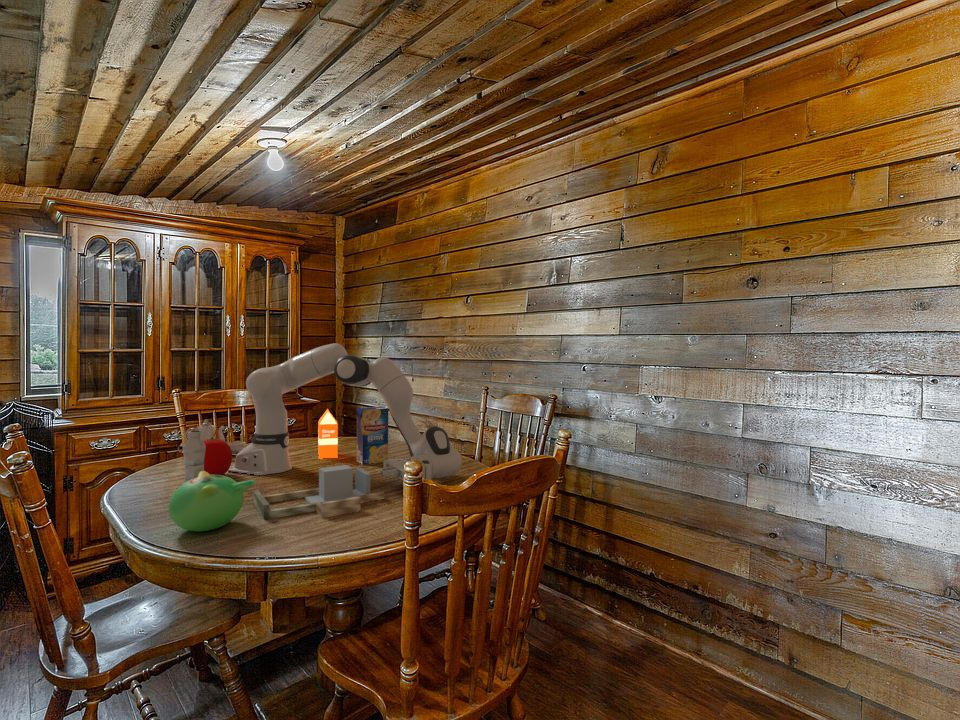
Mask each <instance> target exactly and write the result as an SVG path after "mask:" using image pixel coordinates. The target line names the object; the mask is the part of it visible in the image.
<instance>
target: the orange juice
mask: <svg viewBox="0 0 960 720" xmlns="http://www.w3.org/2000/svg"><path fill="white" fill-rule="evenodd" d="M317 423H318V424H317V425H318V429H317V432H318V433H317V434H318V437H317V440H318V441H317V443H318V444H317V445H318V449H317V451H318V455H319V456H318V460H319V459H320V460H324V459H323V458H339V457H338V456H339V455H338V454H339V453H338V449H339V448H338V445H339V441H338V440H339V438H338V436H339V435H338V434H339V433H338V429H339V425H338V420H337V419H335V417H334V416H333V414H332V413H331V412H330V410H329V408H326V410H325V412H324V413H323V414H322V416H321V417H320V418H319V420H318V422H317Z"/></svg>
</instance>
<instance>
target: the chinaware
mask: <svg viewBox="0 0 960 720" xmlns="http://www.w3.org/2000/svg"><path fill="white" fill-rule="evenodd" d="M215 426H216V425H213V424H212V423H211V422H209V420H207V419H204V421H203V423H201V425H198V426H197V427H192V428H189V429H188V430H186V431H185V433H184V439H185V442H180V445H179V446H178V447H177V451H178V452H179V453H183V451H180V447H182V448H183V446H184V444H185V443H186V442H187V440H188V438H187V436H188V431H194V430H200V431H201V437H200V439H201V440H202V441H203V440H204V441H205V440H208V439H211V437H213V439H215V436H214V435H215V434H214V433H215V431H214V430H215ZM224 428H225V425H221V426H220V427H219V428H218V439H221V440H224V441H225V442H227V444H228V445H229V446H230V448H231V451H232V454H238V453H239V452H240V451H242V450H243V449H244V448H245V447H246V446H245V445H246V444H247V441H240V440H236V441H233V442H231V441H226V438H225V435H224V433H223V429H224Z"/></svg>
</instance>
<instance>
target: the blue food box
mask: <svg viewBox="0 0 960 720" xmlns="http://www.w3.org/2000/svg"><path fill="white" fill-rule="evenodd" d="M387 459H389V408H388V407H386V406H381V405H380V406H379V405H378V406H366V407H363V406H362V407H356V463H358V462H359V463H358V464H360V463H361V464H360V465H362V466H365V465H364V464H366V465H372V464H371V463H374V464H380V463H379V462H382V463H384V460H387Z"/></svg>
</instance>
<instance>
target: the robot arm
mask: <svg viewBox="0 0 960 720" xmlns="http://www.w3.org/2000/svg"><path fill="white" fill-rule="evenodd" d="M331 374H334V376H335V378H336V379H337V380H338V381H339V382H340V383H342V384H345V385H348V386H351V387H366V386H368V385H370V384H372V385H373V386H374V387H375V388H376V390H377V391H378V392H379V394H380V396H381V397H382V398H383V401H384V402H385V403H386V405H387V408H389V409H388V412H389V414H390V416H391V418H392V420H393V422H394V424H395V425H396V427H397V429H398V431H399V432H400V434H401V436H402V438H403V440H404V441H405V443H406V445H407V449H408V451H409V455H410V459H405V458H388V459H387V460H384V462H382V463H383V465H382V466H383V468H380V469H379V474H380V475H381V476H383V477H396V478H397V479H399V480H401V481H403V477H404V464H405V462H407V461H411V460H417V461H420V462H421V463H422V464H423V477H424V479H430V480H431V481H432V479H434V478H436V479H442V478H447V477H451V476H454V475H457V474H458V473H459V471H460V470H461V468H462V464H463V459H462V455H461V453H460V451H458V450H457V449H456V448H455V447H454V446H453V444H452V442H451V441H450V437H449V435H448V433H447V431H446V430H445V429H444V428H442V427H439V426H438V425H437V426H434V425H433V426H430V427H428V429H426V430H424V432H423V433H422V434H421V432H420V431H419V429H418V427H417V426H416V423H415V422H414V420H413V419H412V415H411V404H412V402H413V401H412V400H413V397H414V390H413V387H412V385H411V383H410V380H408V378H407V377H406V376H405V374H404V373H403V372H402V370H401V369H400V368H399V367H398V365H396V364H395V363H394V361H392V360H391V359H390V358H388V357H386V356H382V357H381V356H380V357H378V358H376V359H375V360H373V361H370V360H368V359H366V358H364V357H362V356H357V355H353V354H348V352H347V349H346V348H345V347H344V345H342V344H340V343H337V342H336V343H335V342H334V343H329V344H324V345H321V346H317V347H315V348H312V349H310V350H307V351H305V352H301V354H298V355H296V356H292V357H291V358H289V359H288V360H286V361H284V362H282V363H280V364H277V365H273V366H270V367H269V366H268V367H262V368H258V369H256V370H254V371H253V372H251V373H250V374H249V375H248V376H247V378H246V379H245V387H246V390H247V392H248V393H249V394H250V395H251V397H252V401H253V406H254V410H255V432H254V433H253V434H251V435H249V440H251V443H249V444H248V445H247V446H244V447H245V448H243V450H242V451H240V452H239V453H238V454H237V456H235V460H234V464H233V465H231V466H230V468H229V470H228V471H232V472H239V473H238V474H241V473H247V474H246V475H250V474H254V475H253V476H259V475H260V476H266V475H271V474H279V473H285V472H287V471H290V470H292V469H293V466H292V463H291V458H290V454H289V453H290V452H289V443H290V435H289V434H290V433H289V431H288V410H287V409H286V407H285V404H284V400H283V395H284V394H286V393H289V392H291V391H293V390H295V389H297V388H300V387H302V386H304V385H307V384H309V383H311V382H314V381H317V380H319V379H322V378H324V377H327V376H329V375H331ZM228 471H227V472H228ZM232 472H231V473H232Z"/></svg>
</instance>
